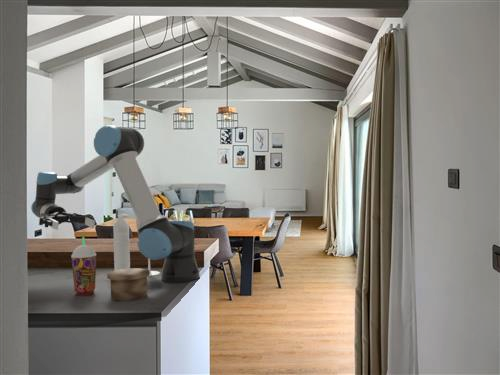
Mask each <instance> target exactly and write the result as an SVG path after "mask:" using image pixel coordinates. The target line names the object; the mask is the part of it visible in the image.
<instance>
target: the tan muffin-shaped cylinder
mask: <svg viewBox="0 0 500 375" xmlns="http://www.w3.org/2000/svg"><path fill="white" fill-rule="evenodd" d="M150 271H151V270H150ZM150 271H149V270H148V268H137V267H136V268H133V267H132V268H131V267H130V269H120V270H115V271H114V270H112V271H110V272H108V273H107V274H106V275H107V276H106V277H107V279H108V280H110V299H112V300H113V301H119V302H127V301H129V302H130V301H136V300H141V299H143V298H146V297H147V296H148V278H147V277H150V276H149V275H150Z"/></svg>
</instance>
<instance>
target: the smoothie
mask: <svg viewBox="0 0 500 375" xmlns="http://www.w3.org/2000/svg"><path fill="white" fill-rule="evenodd" d="M81 238H82V241H81V242H82V244H80V245H78V246H76V248H75V249H74V250H73V252H72V254H71V264H72V267H71V268H72V274H73V276H72V277H73V284H74V286H73V287H74V292H75V294H76V295H77V296H89V295H92V294H94V292H95V290H96V272H97V271H96V270H97V253H96V251H95V250H94V248H93V247H92V246H90V245H88V244H86V242H85V236H82V237H81Z"/></svg>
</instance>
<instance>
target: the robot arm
mask: <svg viewBox="0 0 500 375" xmlns="http://www.w3.org/2000/svg"><path fill="white" fill-rule="evenodd" d="M144 146H145V138H144V137H143V135H142V134H141V133H140V131H138V130H137V129H135V128H132V127H123V126H117V125H114V124H112V125H104V126H102V127H100V128H99V129H98V130H97V131H96V132H95V135H94V137H93V148H94V150H95V152H96V154H98V156H95V157H94V158H93V159H91V160H89V161H88V162H86V163H85V164H84V165H82V166H80V167H79V168H77V169H76V170H74V171H73V172H71V173H70V174H68V175H66V176H64V175H63V176H62V175H61V176H58V173H57V172H55V171H54V172H53V171H39V172H38V173H37V177H36V187H35V188H36V189H35V190H36V191H35V198H34V201H33V203H32V204H31V206H30V208H31V209H30V210H31V213H32V214H33V215H35V217H37V218H39V220H38V225H39V226H43V225H44V228H52V229H54V230H58V229H59V225H61V224H63V223H69V224H71V223H78V224H84V225H85V226H86V227H89V228H91V229H94V228H95V224H96V221H95V220H94V217H93V216H90V215H84V214H81V213H80V214H79V213H76V212H74V213H70V212H67V211H66V209H65V208H64V207H62V206H61V205H60V206H59V205H58V204H56V197H57V195H62V194H63V195H65V194H67V195H68V194H77V193H78V194H79V193H80V192H82V191H83V189H85V186H86V185H88V184H90V183H91V182H93V181H94V180H96V179H98V178H99V177H101V176H103V175H105V174H106V173H107V172H109V171H110V170H112V169H114V170H115V172H116V175H117V177H118V179H119V182H120V184H121V186H122V188H123V190H124V193H125V195H126V197H127V199H128V202H129V204H130V206H131V208H132V210H133V213H134V215H135V217H136V219H137V220H138V222H139V227H138V232H137V234H138V233H139V236H138V237H137V241H136V242H137V248H138V250H139V252H140V254H141V255H143V256H144V257H145V258H147V259H148V258H149V259H150V261H151V260H154V261H158V260H163V259H164V261H163V266H162V269H161V272H160V278H161V280H162V281H164V282H168V283H183V282H190V281H191V282H192V281H196V280H198V279H199V278H200V270H199V267H198V264H197V260H196V258H195V257H196V256H195V250H196V249H195V225H194V223H193V221H191V220H170V219H168V218H167V216H166V215H162V213H161V212H160V209H159V207H158V205H157V203H156V201H155V198H154V196H153V194H152V192H151V190H150V187H149V185H148V183H147V181H146V178H145V176H144V175H143V172H142V170H141V167H140V165H139V162H138V161H137V157H138V156H139V155H141V153H142V152H143V150H144Z"/></svg>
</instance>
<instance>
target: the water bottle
mask: <svg viewBox="0 0 500 375" xmlns="http://www.w3.org/2000/svg"><path fill="white" fill-rule="evenodd" d="M126 218H129V214H123V213H120V214H118V215H117V219H116V220H115V222H114V224H113V225H112V229H113V230H112V231H113V232H112V233H113V261H114V262H113V263H114V266H113V267H114V270H113V271H115V270H120V269H130V268H131V249H130V246H131V245H130V225H129V223H128V221H127V220H126Z"/></svg>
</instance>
